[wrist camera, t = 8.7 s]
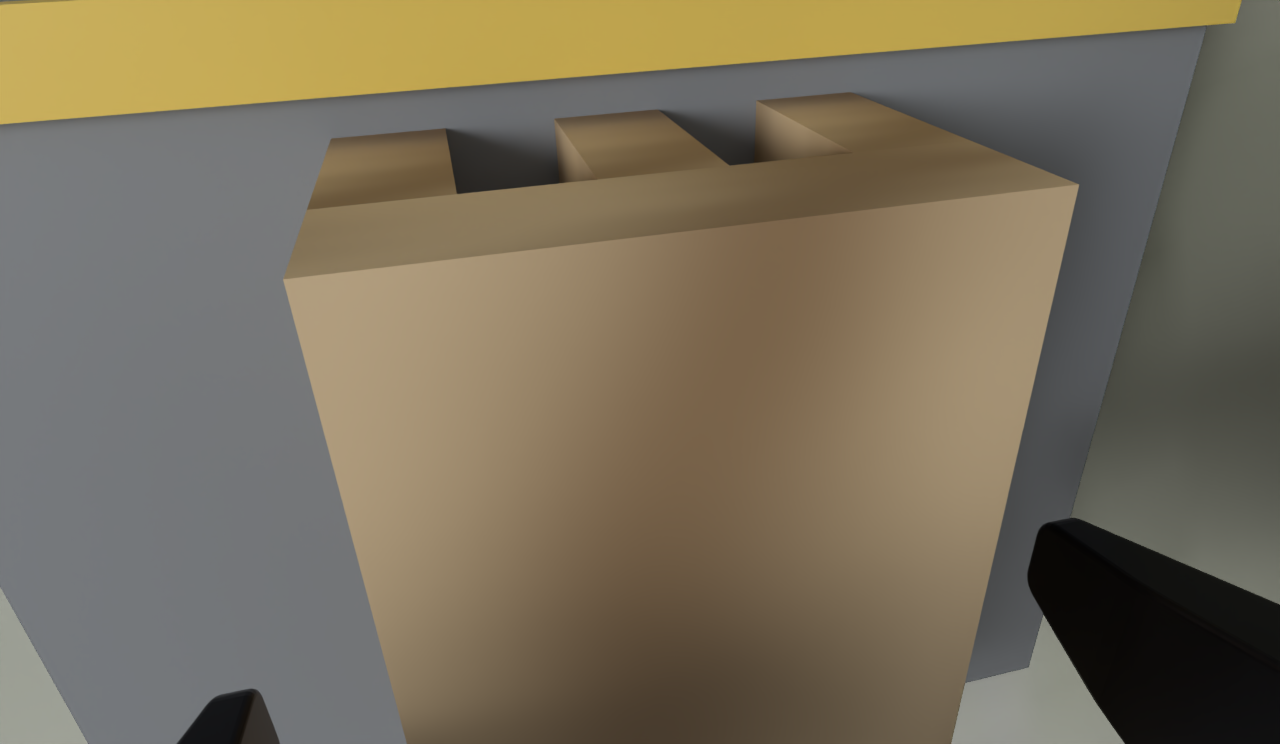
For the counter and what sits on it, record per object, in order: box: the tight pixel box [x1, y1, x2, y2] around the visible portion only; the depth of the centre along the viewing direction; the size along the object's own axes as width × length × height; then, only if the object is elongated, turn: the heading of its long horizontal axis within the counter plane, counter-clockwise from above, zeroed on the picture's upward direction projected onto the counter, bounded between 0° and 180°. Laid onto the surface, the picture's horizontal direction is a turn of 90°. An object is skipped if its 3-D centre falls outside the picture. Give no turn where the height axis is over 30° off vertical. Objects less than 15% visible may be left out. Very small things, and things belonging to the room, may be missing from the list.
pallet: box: [283, 92, 1079, 744], centre depth 10 cm, size 6×10×4 cm, turn 2°
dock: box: [0, 0, 1242, 744], centre depth 13 cm, size 16×13×3 cm
